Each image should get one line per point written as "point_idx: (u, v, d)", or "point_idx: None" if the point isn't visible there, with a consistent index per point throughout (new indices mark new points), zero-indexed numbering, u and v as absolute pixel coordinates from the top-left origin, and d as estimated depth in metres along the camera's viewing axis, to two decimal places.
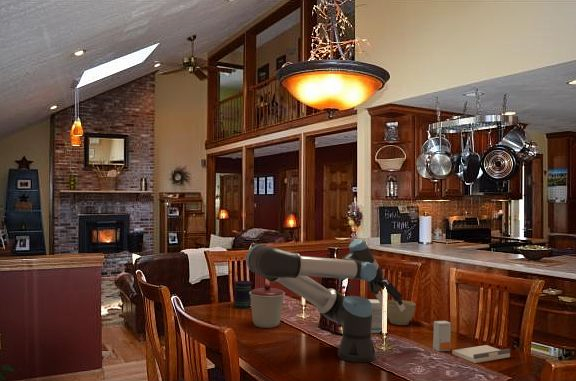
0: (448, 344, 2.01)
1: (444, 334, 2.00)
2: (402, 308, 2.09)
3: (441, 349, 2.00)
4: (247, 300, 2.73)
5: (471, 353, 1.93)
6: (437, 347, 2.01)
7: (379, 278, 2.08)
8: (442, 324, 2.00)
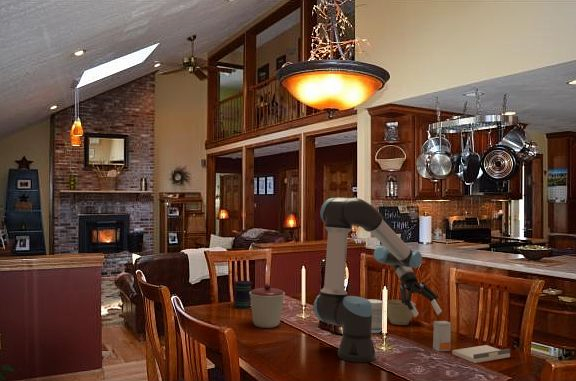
0: (448, 344, 2.01)
1: (444, 334, 2.00)
2: None
3: (441, 349, 2.00)
4: (247, 300, 2.73)
5: (471, 353, 1.93)
6: (437, 347, 2.01)
7: None
8: (442, 324, 2.00)
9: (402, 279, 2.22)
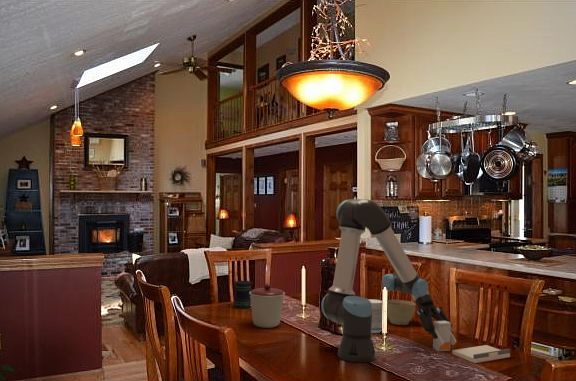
0: (448, 344, 2.01)
1: (444, 334, 2.00)
2: None
3: (441, 349, 2.00)
4: (247, 300, 2.73)
5: (471, 353, 1.93)
6: (437, 347, 2.01)
7: None
8: (442, 324, 2.00)
9: (417, 302, 2.12)
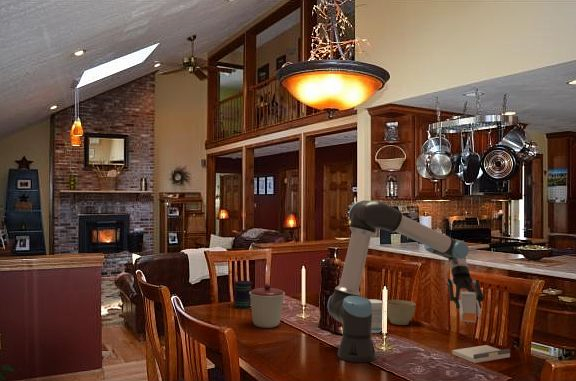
0: (473, 315, 1.98)
1: (468, 304, 1.98)
2: None
3: (464, 319, 1.99)
4: (247, 300, 2.73)
5: (471, 353, 1.93)
6: (460, 317, 2.00)
7: None
8: (465, 294, 1.99)
9: (452, 273, 2.12)
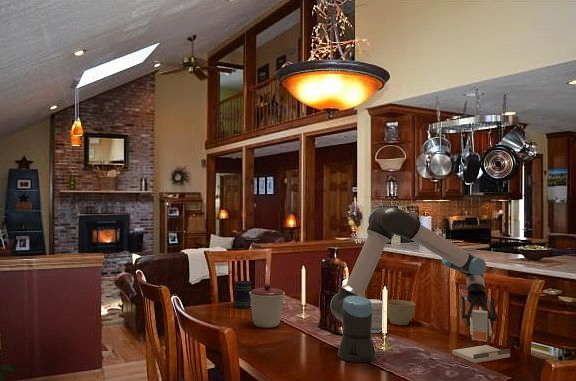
0: (484, 334, 1.95)
1: (479, 323, 1.96)
2: None
3: (475, 338, 1.96)
4: (247, 300, 2.73)
5: (471, 353, 1.93)
6: (472, 335, 1.97)
7: (485, 293, 2.06)
8: (476, 312, 1.96)
9: (467, 290, 2.10)
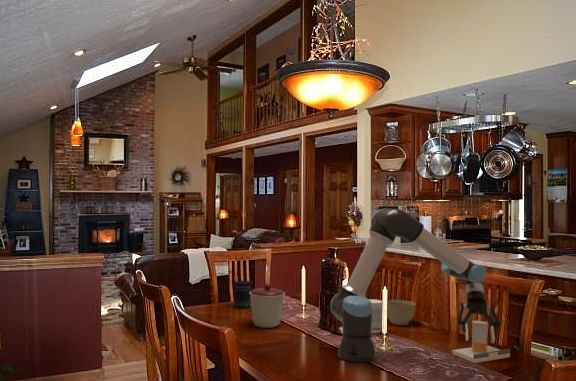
0: (484, 345, 1.94)
1: (478, 334, 1.95)
2: None
3: (475, 349, 1.96)
4: (247, 300, 2.73)
5: (471, 353, 1.93)
6: None
7: None
8: (476, 323, 1.96)
9: None
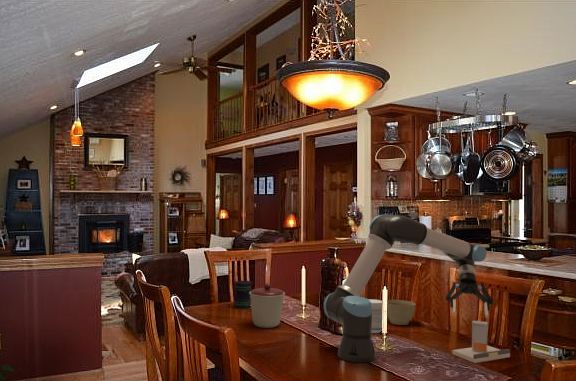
0: (484, 346, 1.94)
1: (479, 334, 1.95)
2: (487, 314, 2.08)
3: (475, 349, 1.96)
4: (247, 300, 2.73)
5: (471, 353, 1.93)
6: None
7: None
8: (476, 324, 1.96)
9: (459, 279, 2.24)
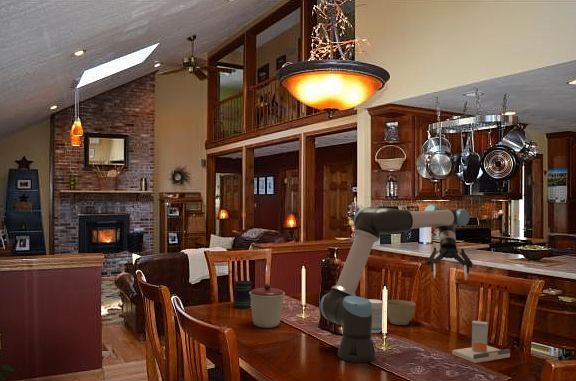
0: (484, 346, 1.94)
1: (479, 334, 1.95)
2: (466, 276, 2.12)
3: (475, 349, 1.96)
4: (247, 300, 2.73)
5: (471, 353, 1.93)
6: None
7: (456, 247, 2.25)
8: (476, 324, 1.96)
9: (440, 244, 2.28)
